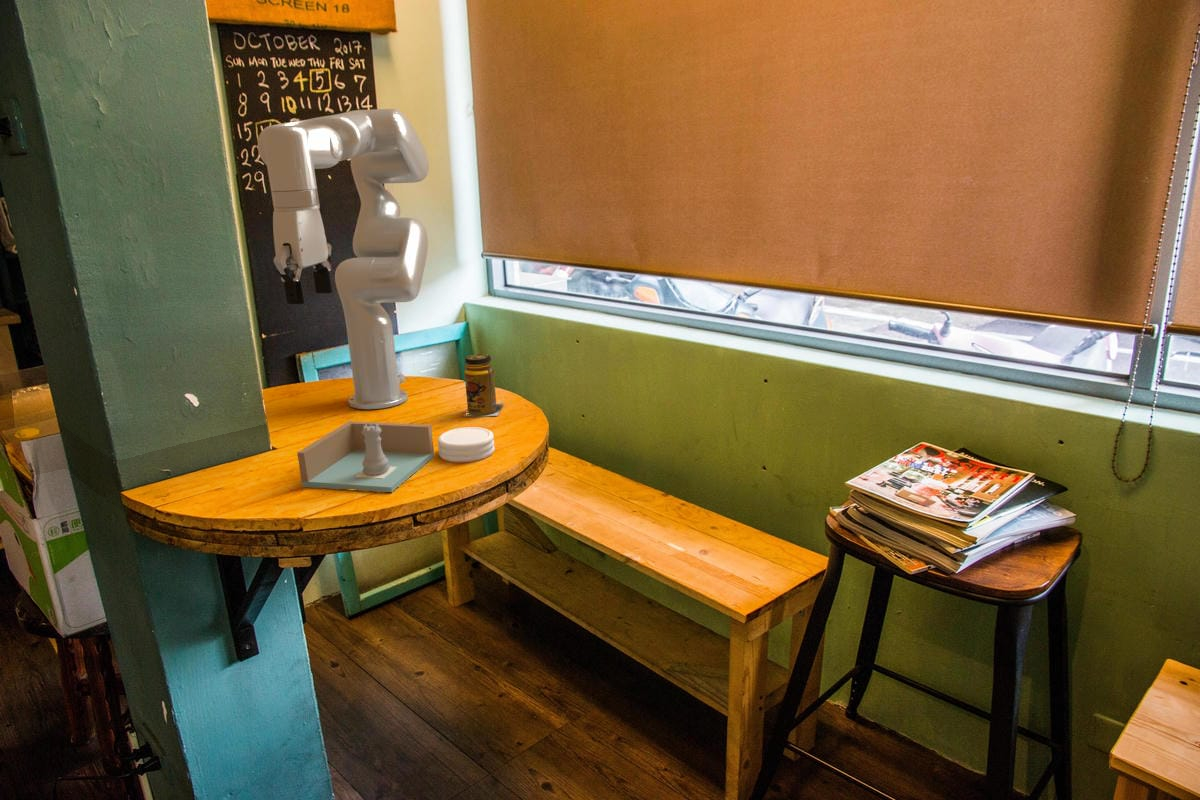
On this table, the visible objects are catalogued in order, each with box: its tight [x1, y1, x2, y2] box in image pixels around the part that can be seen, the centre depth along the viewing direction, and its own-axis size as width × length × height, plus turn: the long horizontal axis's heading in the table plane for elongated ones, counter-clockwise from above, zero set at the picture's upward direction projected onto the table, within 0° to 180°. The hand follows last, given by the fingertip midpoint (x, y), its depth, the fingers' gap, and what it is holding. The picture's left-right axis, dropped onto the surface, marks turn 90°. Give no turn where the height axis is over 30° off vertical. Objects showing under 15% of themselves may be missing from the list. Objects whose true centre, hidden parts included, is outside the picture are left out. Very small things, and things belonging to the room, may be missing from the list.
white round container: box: [437, 426, 496, 463], centre depth 140 cm, size 10×10×4 cm
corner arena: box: [296, 420, 435, 493], centre depth 132 cm, size 16×16×6 cm
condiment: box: [463, 353, 505, 418], centre depth 162 cm, size 7×8×12 cm
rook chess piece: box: [361, 423, 390, 475], centre depth 129 cm, size 4×4×8 cm
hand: (311, 298), depth 141 cm, fingers open, 9 cm apart
